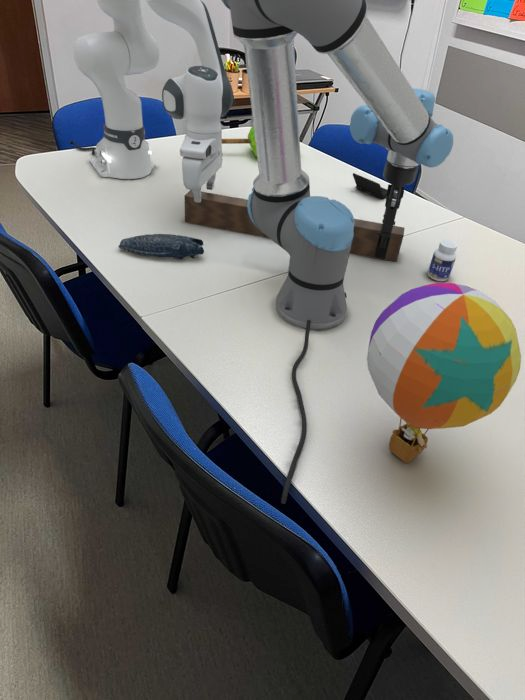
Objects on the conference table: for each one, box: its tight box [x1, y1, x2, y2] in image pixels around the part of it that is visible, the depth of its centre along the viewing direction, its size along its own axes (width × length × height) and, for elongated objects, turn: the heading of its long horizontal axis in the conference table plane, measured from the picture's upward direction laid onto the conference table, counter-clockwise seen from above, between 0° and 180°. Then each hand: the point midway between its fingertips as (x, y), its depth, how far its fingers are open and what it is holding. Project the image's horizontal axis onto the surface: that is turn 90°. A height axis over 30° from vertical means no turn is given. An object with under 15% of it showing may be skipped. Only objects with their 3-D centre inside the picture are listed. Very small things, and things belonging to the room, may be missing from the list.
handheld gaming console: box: [352, 172, 388, 200], centre depth 167 cm, size 12×7×10 cm
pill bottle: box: [427, 239, 458, 282], centre depth 126 cm, size 5×5×9 cm
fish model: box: [118, 233, 205, 260], centre depth 125 cm, size 7×21×5 cm, turn 84°
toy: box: [366, 282, 522, 464], centre depth 73 cm, size 20×20×30 cm
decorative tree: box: [222, 125, 257, 157], centre depth 186 cm, size 18×10×30 cm
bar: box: [183, 190, 405, 263], centre depth 137 cm, size 58×5×8 cm, turn 75°
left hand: (204, 195), depth 138 cm, fingers open, 8 cm apart
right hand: (380, 252), depth 135 cm, fingers closed on bar, 5 cm apart
